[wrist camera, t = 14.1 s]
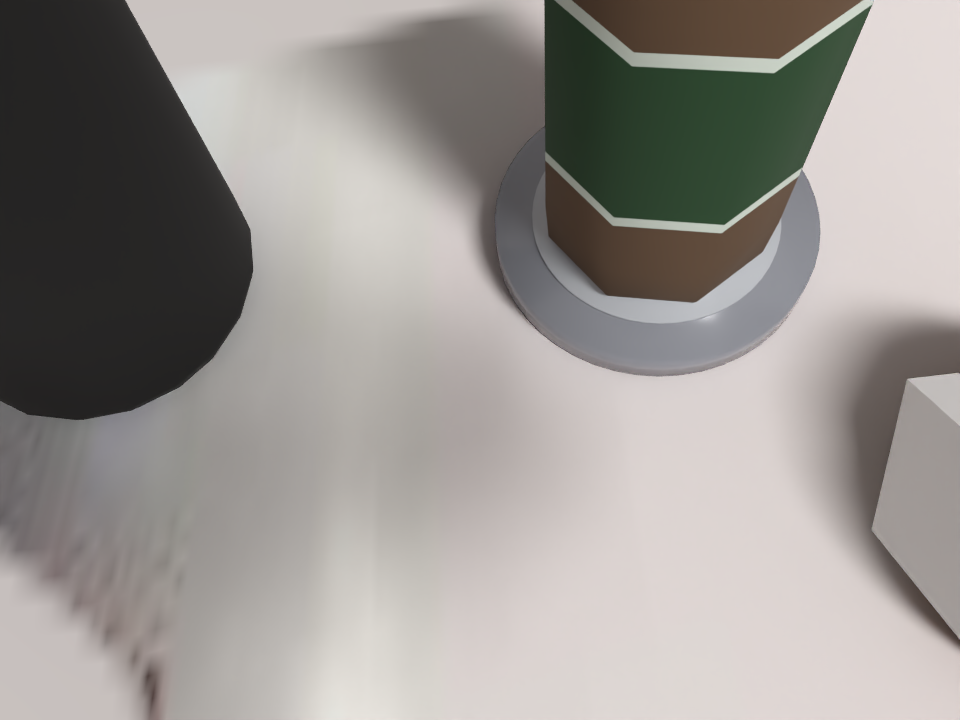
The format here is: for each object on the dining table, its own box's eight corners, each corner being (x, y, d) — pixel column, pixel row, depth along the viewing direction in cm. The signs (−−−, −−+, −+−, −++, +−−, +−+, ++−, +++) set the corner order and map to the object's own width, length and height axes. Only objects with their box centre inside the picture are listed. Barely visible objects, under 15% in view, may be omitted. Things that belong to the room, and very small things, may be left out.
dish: (539, 410, 28) (539, 394, 27) (467, 150, 33) (464, 126, 32) (862, 333, 29) (876, 313, 27) (744, 87, 33) (752, 61, 32)
